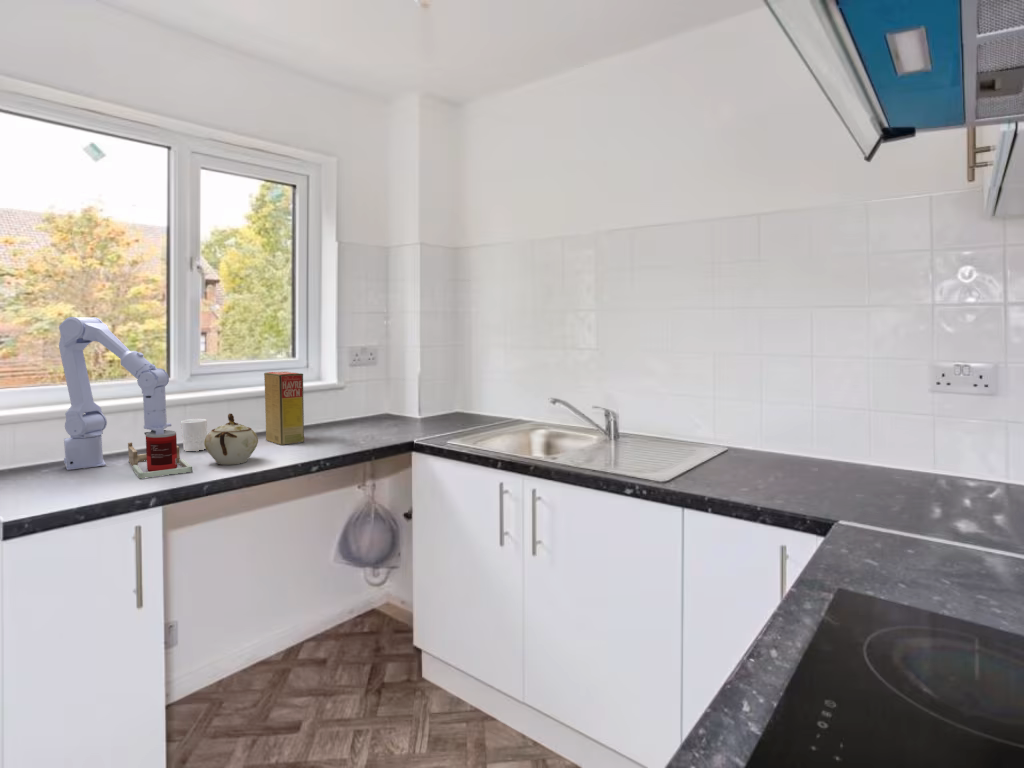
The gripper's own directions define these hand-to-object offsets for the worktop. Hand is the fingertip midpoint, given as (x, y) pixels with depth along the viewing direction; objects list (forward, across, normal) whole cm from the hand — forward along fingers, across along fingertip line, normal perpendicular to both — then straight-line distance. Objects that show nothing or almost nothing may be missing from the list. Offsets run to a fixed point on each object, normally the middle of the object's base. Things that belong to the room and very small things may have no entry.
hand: (157, 455), depth 181 cm
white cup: (+4, +20, -14) cm, 25 cm away
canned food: (+3, -6, 0) cm, 7 cm away
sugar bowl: (+3, -7, -19) cm, 21 cm away
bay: (+3, -7, 0) cm, 8 cm away
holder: (+3, +6, 0) cm, 7 cm away
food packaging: (+3, +17, -43) cm, 46 cm away
